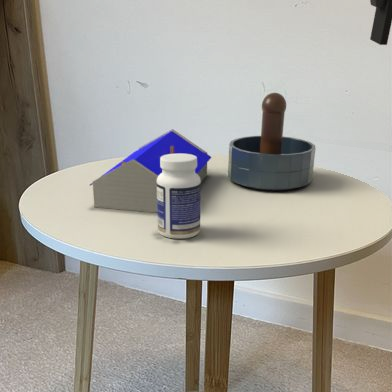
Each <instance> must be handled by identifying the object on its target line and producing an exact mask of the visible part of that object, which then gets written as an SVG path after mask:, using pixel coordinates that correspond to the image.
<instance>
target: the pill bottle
mask: <svg viewBox="0 0 392 392" xmlns="http://www.w3.org/2000/svg"><path fill="white" fill-rule="evenodd" d="M160 167H161V168H162V173H161V174H160V175H159V176H158V178H157V213H156V214H157V215H156V216H157V217H156V219H157V231H158V233H159V234H160V235H161V236H163V237H164V238H168V239H174V240H175V239H176V240H183V239H190V238H193V237H195V236H198V235H199V233H200V231H201V204H202V203H201V196H202V195H201V192H202V189H201V187H202V182H201V180H200V177H199V175H198V174H196V173H195V169H196V167H197V157H196V156H194V155H191V154H182V153H177V154H167V155H164V156H161V158H160Z"/></svg>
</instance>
